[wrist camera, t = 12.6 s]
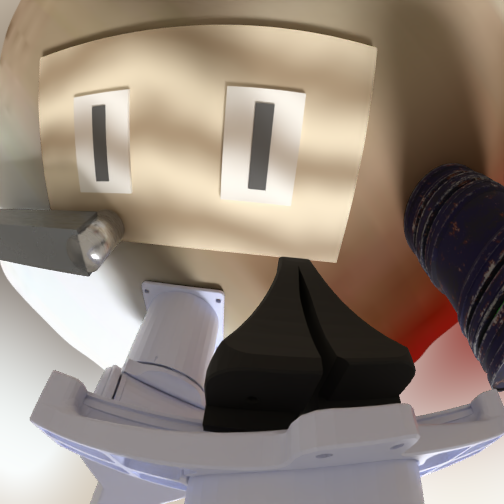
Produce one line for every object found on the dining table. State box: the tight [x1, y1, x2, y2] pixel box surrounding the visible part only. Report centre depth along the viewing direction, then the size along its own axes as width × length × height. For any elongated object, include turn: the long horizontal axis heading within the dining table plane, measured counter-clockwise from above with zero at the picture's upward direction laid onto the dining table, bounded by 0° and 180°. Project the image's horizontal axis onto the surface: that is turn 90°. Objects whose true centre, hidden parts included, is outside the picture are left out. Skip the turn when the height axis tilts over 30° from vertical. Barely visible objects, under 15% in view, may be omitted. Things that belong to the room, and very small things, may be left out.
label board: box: [39, 25, 377, 263], centre depth 18 cm, size 17×26×1 cm, turn 85°
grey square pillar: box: [0, 209, 125, 277], centre depth 20 cm, size 17×4×4 cm, turn 86°
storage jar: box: [404, 163, 504, 392], centre depth 14 cm, size 10×10×15 cm
